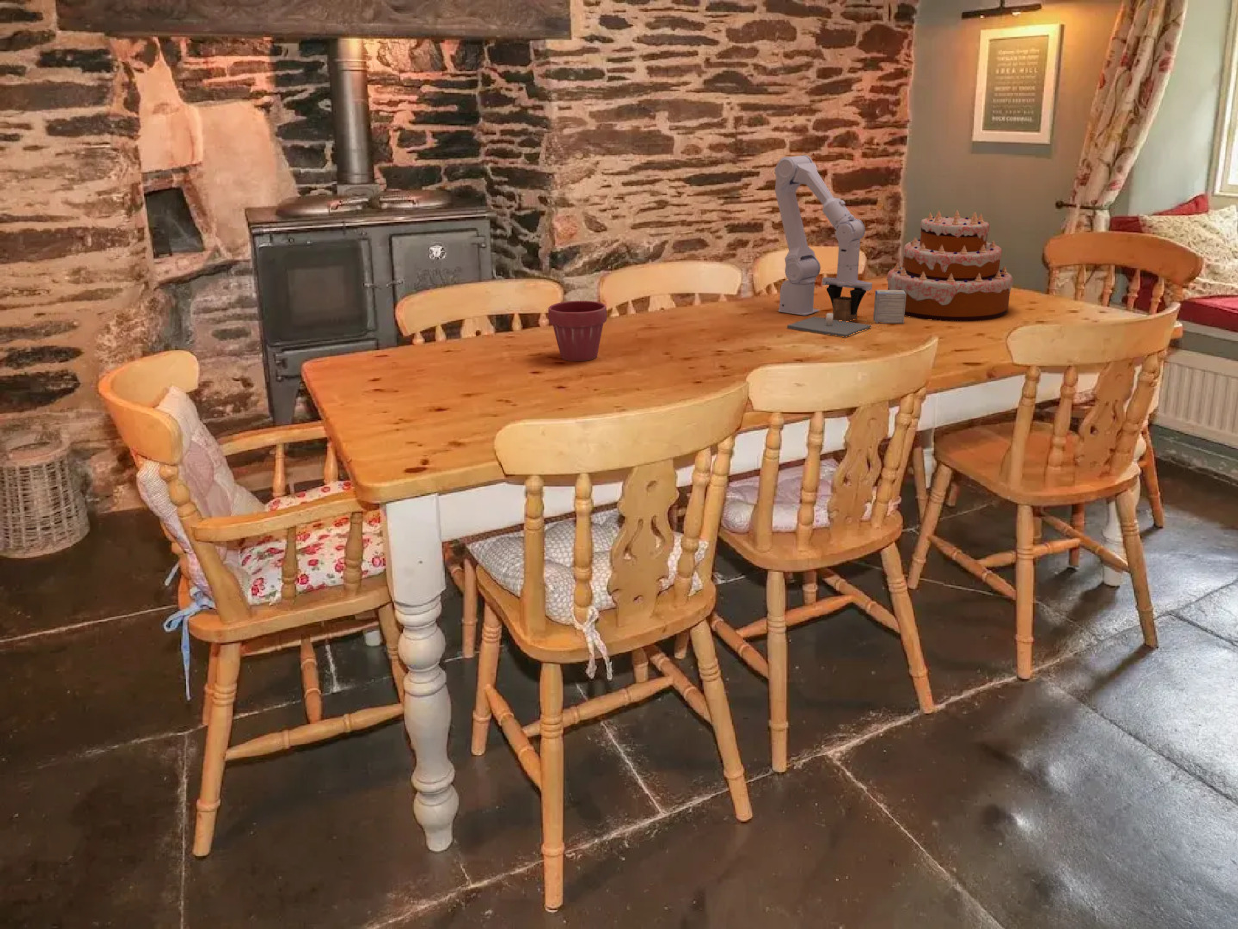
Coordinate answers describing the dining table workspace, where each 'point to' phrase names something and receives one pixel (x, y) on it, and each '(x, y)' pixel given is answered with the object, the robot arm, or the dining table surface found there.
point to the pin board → (828, 326)
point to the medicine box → (889, 306)
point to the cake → (952, 272)
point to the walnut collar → (842, 309)
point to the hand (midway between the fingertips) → (844, 312)
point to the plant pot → (578, 328)
